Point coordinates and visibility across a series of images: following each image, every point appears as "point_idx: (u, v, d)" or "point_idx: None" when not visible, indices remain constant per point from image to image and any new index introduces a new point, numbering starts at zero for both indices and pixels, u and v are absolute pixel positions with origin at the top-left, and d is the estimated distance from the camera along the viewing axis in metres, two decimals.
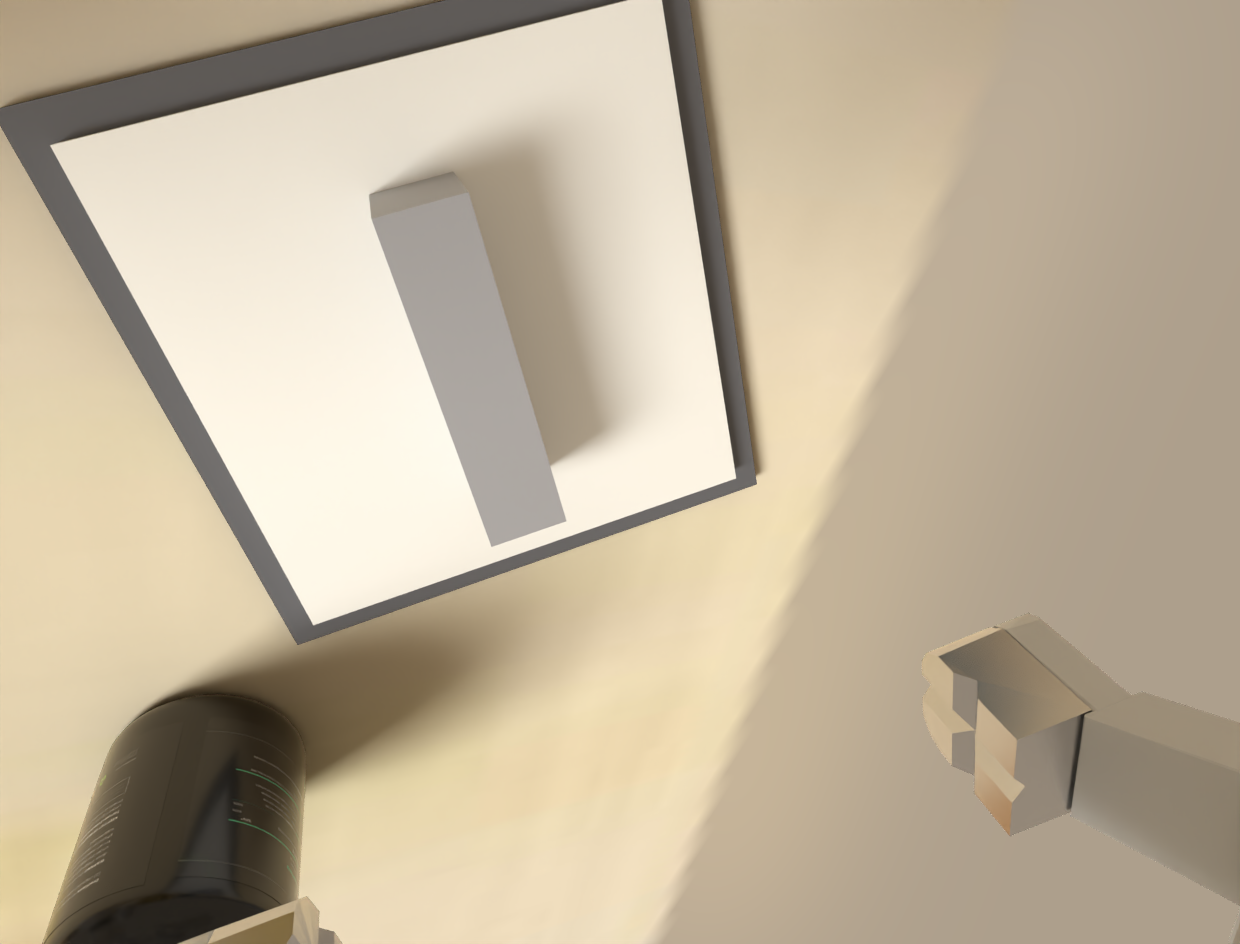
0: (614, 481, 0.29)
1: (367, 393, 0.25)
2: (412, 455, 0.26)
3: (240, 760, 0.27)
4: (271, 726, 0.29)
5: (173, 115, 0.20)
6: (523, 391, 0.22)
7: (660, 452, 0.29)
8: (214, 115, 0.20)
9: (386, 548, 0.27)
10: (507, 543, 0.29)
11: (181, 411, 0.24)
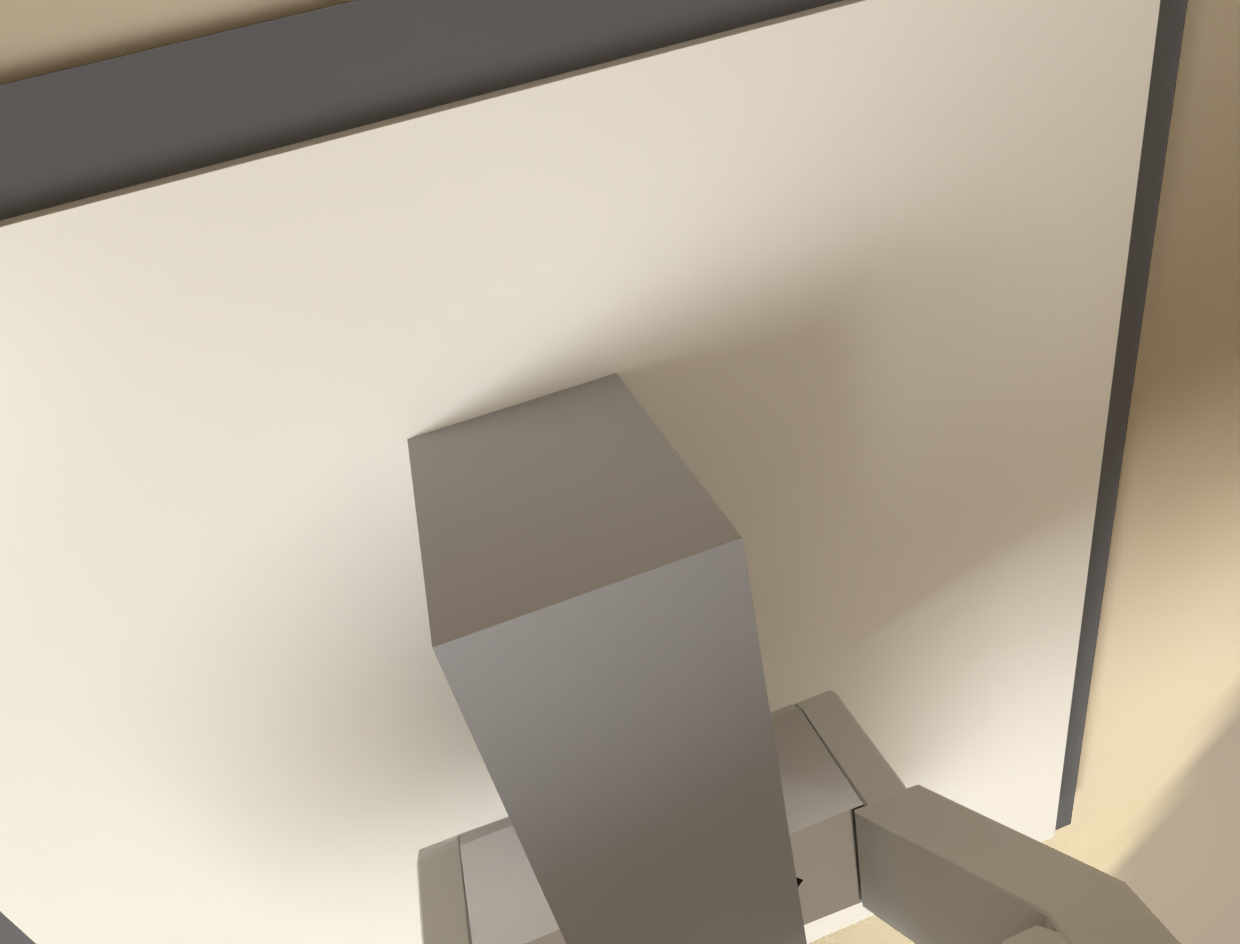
0: None
1: (395, 819, 0.11)
2: None
3: None
4: None
5: None
6: (793, 930, 0.09)
7: None
8: None
9: None
10: None
11: None
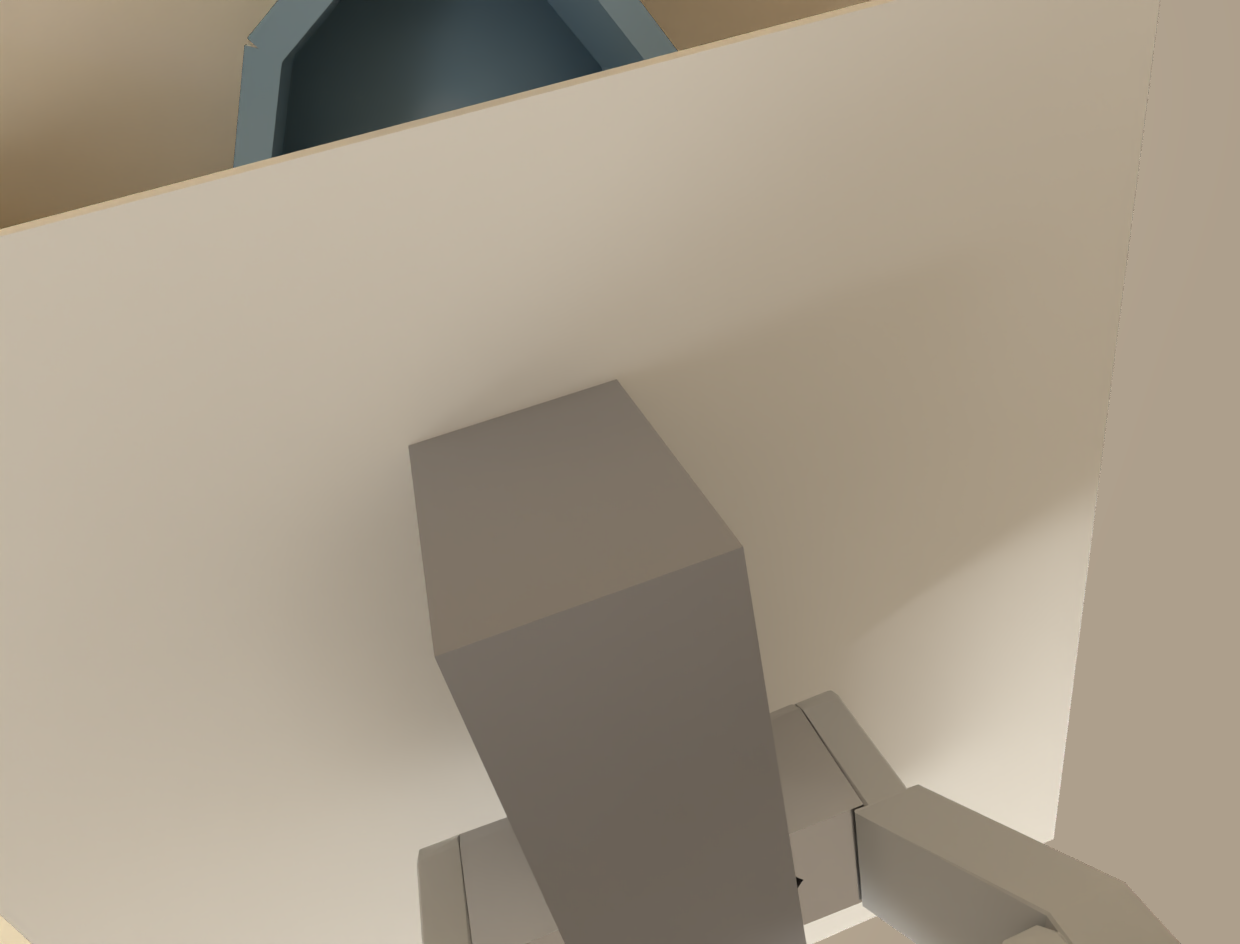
0: None
1: (396, 824, 0.11)
2: None
3: None
4: None
5: None
6: (794, 934, 0.09)
7: None
8: None
9: None
10: None
11: None
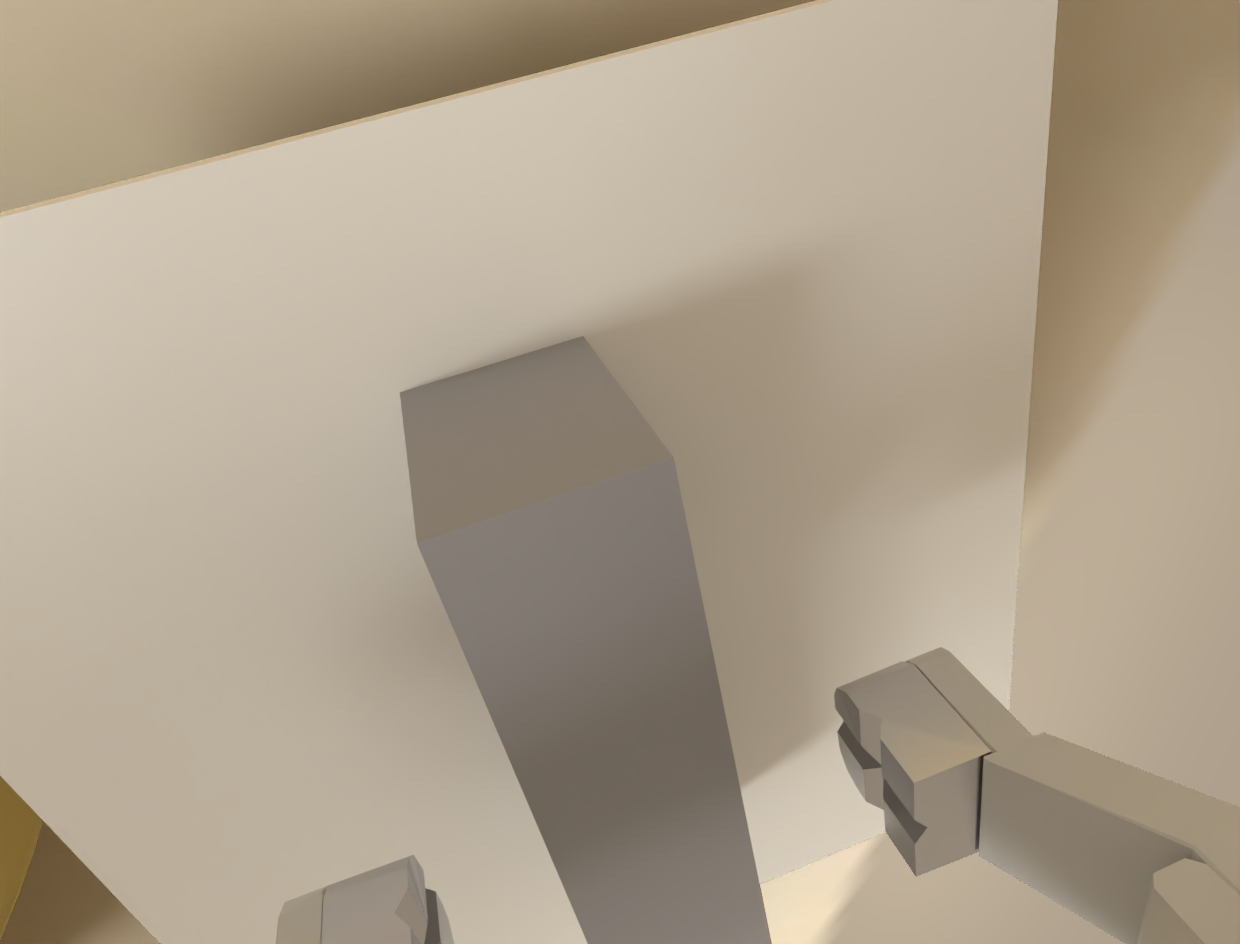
0: (815, 814, 0.16)
1: (390, 743, 0.12)
2: (473, 826, 0.14)
3: None
4: None
5: None
6: (737, 822, 0.10)
7: None
8: (21, 239, 0.08)
9: None
10: None
11: None
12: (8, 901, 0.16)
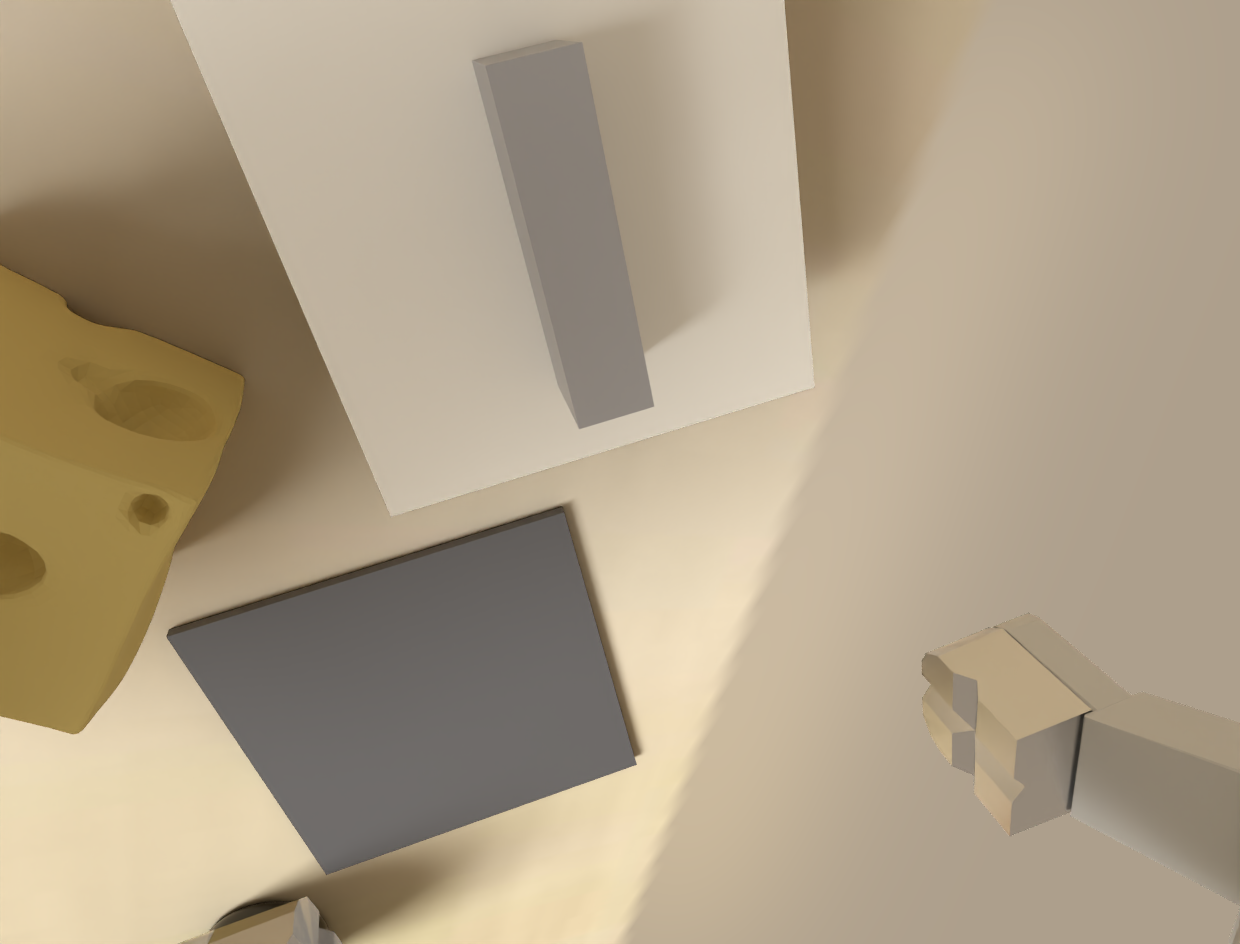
0: (694, 383, 0.28)
1: (457, 273, 0.25)
2: (497, 343, 0.26)
3: None
4: None
5: None
6: (621, 263, 0.22)
7: (741, 354, 0.28)
8: None
9: (466, 440, 0.27)
10: (584, 442, 0.28)
11: (260, 760, 0.39)
12: (235, 412, 0.28)
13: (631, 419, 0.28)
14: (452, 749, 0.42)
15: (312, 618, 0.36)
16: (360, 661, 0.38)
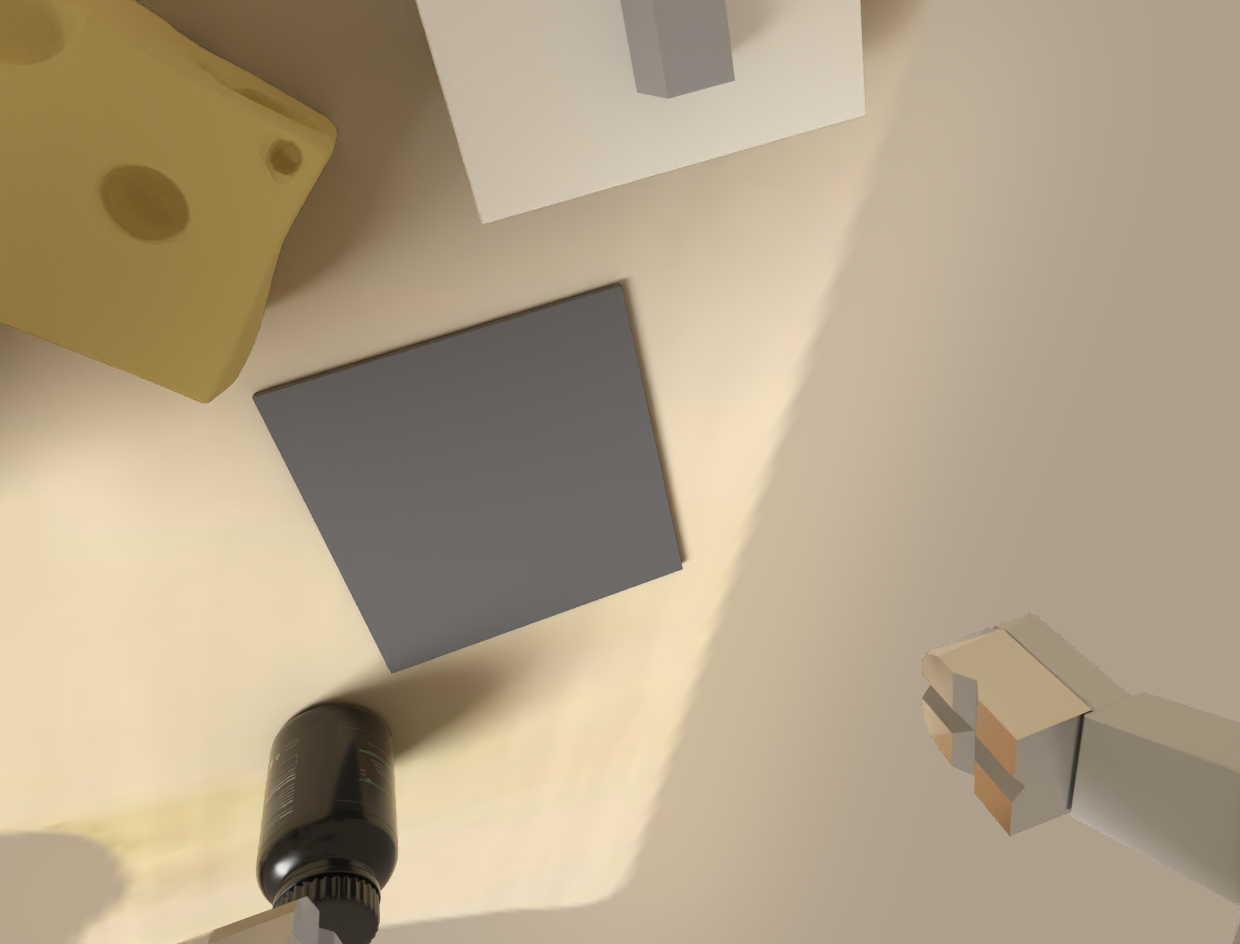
0: (758, 101, 0.31)
1: None
2: (585, 42, 0.28)
3: (360, 744, 0.44)
4: (374, 724, 0.46)
5: None
6: None
7: (801, 73, 0.31)
8: None
9: (553, 145, 0.30)
10: (659, 157, 0.31)
11: (334, 541, 0.41)
12: (335, 131, 0.30)
13: (701, 135, 0.31)
14: (512, 540, 0.44)
15: (387, 386, 0.38)
16: (430, 437, 0.40)
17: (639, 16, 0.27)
